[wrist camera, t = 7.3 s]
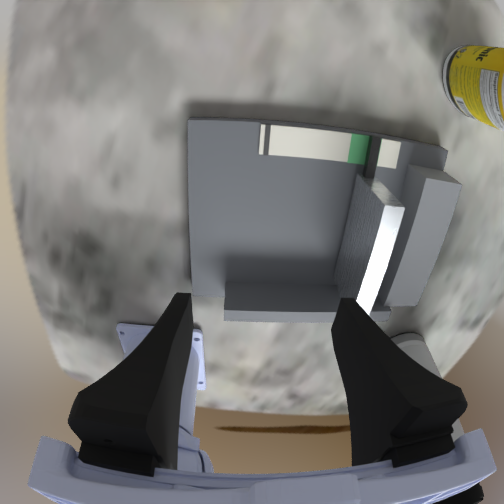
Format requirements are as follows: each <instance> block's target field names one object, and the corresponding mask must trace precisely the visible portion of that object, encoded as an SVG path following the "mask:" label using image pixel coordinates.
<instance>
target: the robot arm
mask: <svg viewBox="0 0 504 504" xmlns="http://www.w3.org/2000/svg"><path fill="white" fill-rule="evenodd" d="M193 327H194V326H193V314H192V301H191V293H176V294H175V295H174V297H173V298H172V300H171V302H170V304H169V305H168V307H167V308H166V310H165V311H164V313H163V314H162V316H161V317H160V319H159V320H158V321H157V323H156V324H155V326H147V325H136V324H125V323H119V324H117V327H116V329H117V333H118V336H119V339H120V342H121V345H122V348H123V351H124V354H125V355H124V358H123V361H122V362H121V363H120V364H118V365H117V366H116V367H115V368H114V369H112V370H111V371H110V372H108V373H107V374H106V375H104V376H103V377H102V378H101V379H99V380H98V381H96V382H95V383H93V384H91V385H90V386H88V387H87V388H85V389H84V390H82V391H80V392H79V393H78V395H77V397H76V399H75V401H74V403H73V406H72V408H71V412H70V415H69V418H68V424H69V426H70V427H71V429H72V430H73V431H74V433H75V434H76V435H77V436H78V437H79V439H80V440H81V441H82V443H81V447H80V451H79V452H76V451H75V449H74V448H73V447H72V446H71V445H69V444H67V443H65V442H63V441H59V440H56V439H53V438H49V437H46V436H41V439H40V442H39V445H38V449H37V452H36V455H35V458H34V462H33V466H32V469H31V473H30V477H29V481H28V486H29V487H30V488H32V489H33V490H35V491H37V492H38V493H40V494H42V495H44V496H45V497H47V498H49V499H50V500H52V501H54V502H56V503H58V504H432V503H435V502H438V501H440V500H443V499H445V498H448V497H450V496H453V495H455V494H458V493H460V492H462V491H465V490H467V489H469V488H470V487H472V486H474V485H475V484H477V483H478V482H480V481H482V480H483V479H485V478H486V477H488V476H489V475H491V474H492V473H494V472H495V471H496V470H497V468H496V465H495V462H494V460H493V457H492V454H491V451H490V448H489V446H488V443H487V441H486V438H485V435H484V433H483V430H482V429H477V430H474V431H472V432H469V433H466V434H463V435H462V436H460V437H459V438H457V439H456V440H455V441H454V442H453V439H452V436H451V434H452V433H453V431H454V430H453V427H452V424H453V423H454V422H455V421H456V420H457V419H458V418H459V417H460V416H461V415H462V414H463V413H464V412H465V410H466V408H467V401H466V399H465V397H464V394H463V392H462V390H461V388H459V387H458V386H455V385H453V384H451V383H449V382H447V381H445V380H444V379H442V378H440V377H438V376H437V375H435V374H433V373H432V372H430V371H429V370H427V369H426V368H424V367H423V366H421V365H420V364H419V363H417V362H416V361H415V360H413V359H412V358H411V357H410V356H408V355H407V354H406V353H405V352H404V351H403V350H401V349H400V348H399V347H398V346H397V345H396V344H395V343H394V342H393V341H392V340H391V339H390V338H389V337H388V336H387V335H386V334H385V333H384V332H383V331H382V330H381V329H380V327H379V326H378V325H377V324H376V323H375V322H374V321H373V320H372V318H371V317H370V316H369V315H368V314H367V313H366V311H365V310H364V309H363V308H362V307H361V305H360V304H359V303H358V302H357V301H356V300H355V299H354V298H341V300H340V303H339V306H338V309H337V313H336V316H335V319H334V322H333V325H332V328H331V332H332V340H333V346H334V351H335V355H336V359H337V362H338V366H339V370H340V373H341V377H342V380H343V384H344V388H345V392H346V397H347V404H348V411H349V420H350V430H351V444H352V467H346V468H338V469H330V470H320V471H310V472H298V473H278V474H223V473H214V470H213V465H212V463H211V461H210V458H209V456H208V454H207V453H206V452H205V451H203V450H200V449H199V443H200V439H199V438H197V437H194V436H193V424H194V414H195V403H196V393H197V390H205V389H206V375H205V362H204V347H203V333H202V331H201V330H199V329H193Z"/></svg>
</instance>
